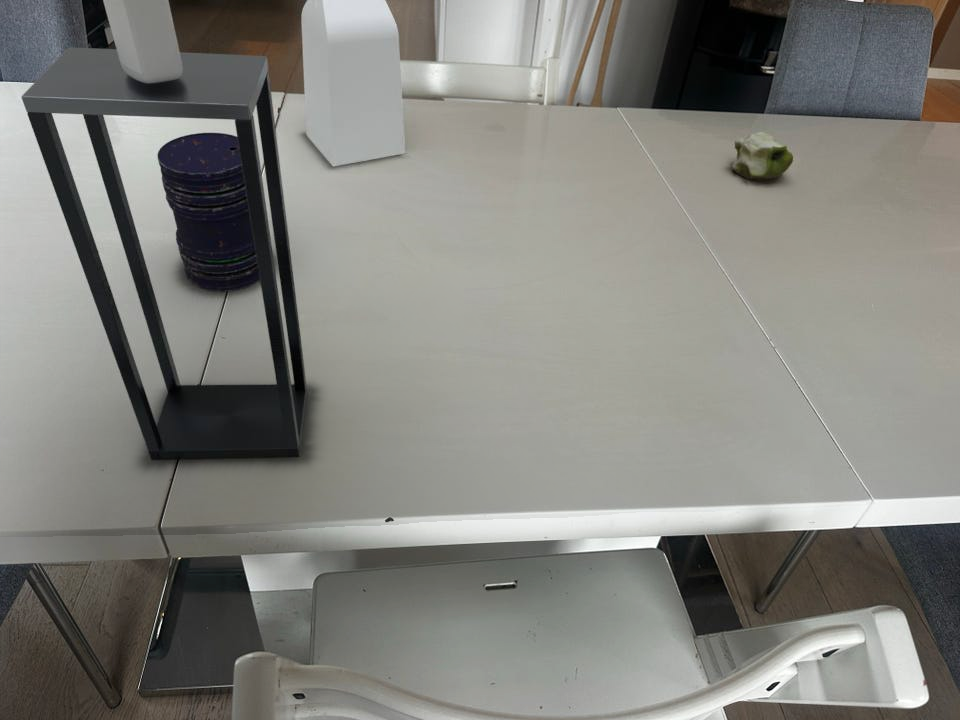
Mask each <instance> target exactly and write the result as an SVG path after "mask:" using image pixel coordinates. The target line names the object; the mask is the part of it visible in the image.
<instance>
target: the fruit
mask: <svg viewBox="0 0 960 720" xmlns="http://www.w3.org/2000/svg"><path fill="white" fill-rule="evenodd" d="M734 149H735V150H736V152H737V153H736V160H735V161H734V162H733V164H732V165H731V168H732V170H734V171H735V173H737V174H738V175H739V176H740V177H743V178H746V179H749V180H754V181H768V180H769V181H770V180H773V179H775V178H778V177H780V176H781V175H782V174H784V173H785V172H787V170H788V169H789V168H790V167H791V165H792V164H793V161H794V155H793V153H792V152H791V151H789V150H788V146H787V145H782V144H780V143H779V142H778V141H777V140H776V139H774V137H773V136H772V135H769V134H767V133H766V132H764V131H758V132H756V133H751V134H749V135H748V136H747V137H745V138H744V137H739V138H737V139H735V140H734Z"/></svg>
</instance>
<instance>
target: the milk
mask: <svg viewBox="0 0 960 720" xmlns="http://www.w3.org/2000/svg"><path fill="white" fill-rule="evenodd" d="M300 17H301V18H300V19H301V45H302V65H303V84H304V85H303V87H304V88H303V90H304V111H305V113H304V114H305V135H306V137H307V138H308V140H310V142H311V143H312V144H313V145H314V147H316V148H317V150H318V151H319V152H320V154H322V155H323V157H324V158H325V159H326V160H327V162H328V163H329V164H330V166H332V167H339V166H344V165H350V164H355V163H360V162H366V161H372V160H377V159H382V158H383V159H384V158H388V157H394V156H398V155H403V154H406V144H405V143H406V141H405V125H404V124H405V123H404V108H403V107H404V106H403V105H404V104H403V87H402V69H401V53H400V52H401V51H400V35H399V29H398V25H397V23H396V20H395V18H394V15H393V13H392V11H391V8H390V7H389V5H388V3H387V1H386V0H306V1H305V3H304V5H303V8H302V11H301V16H300Z"/></svg>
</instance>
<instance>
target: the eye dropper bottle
mask: <svg viewBox="0 0 960 720" xmlns="http://www.w3.org/2000/svg"><path fill="white" fill-rule="evenodd" d="M102 1H103V6H104V9H105V13H106V17H107V20H108V23H109V27H110V31H111V35H112V38H113V41H114V45H115V49H117V53H118V56H119V60H120V63H121V66H122V68H123V70H124V71H125V72H126V73H127V74H128V75H129V76H131V77H132V78H134V79H136V80H138V81H140V82H143V83H158V82H164V81H170V80H175V79H179V78H180V77H181V75H182V73H183V66H182V61H181V56H180V52H181V51H180V48H179V47H180V46H179V43H178V38H177V34H176V30H175V24H174V20H173V16H172V10H171V6H170V2H169V1H170V0H102Z"/></svg>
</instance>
